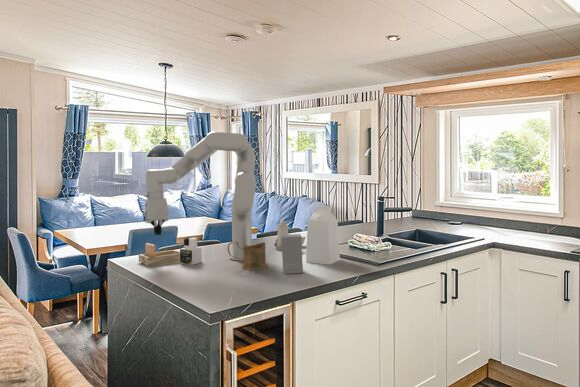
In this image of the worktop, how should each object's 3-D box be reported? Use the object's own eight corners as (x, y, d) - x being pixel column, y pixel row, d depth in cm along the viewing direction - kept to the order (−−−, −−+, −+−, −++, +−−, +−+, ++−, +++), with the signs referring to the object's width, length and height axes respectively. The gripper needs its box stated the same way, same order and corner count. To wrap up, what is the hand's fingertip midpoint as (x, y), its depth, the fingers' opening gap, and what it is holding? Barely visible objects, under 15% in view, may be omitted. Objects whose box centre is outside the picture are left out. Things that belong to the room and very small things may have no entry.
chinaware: (299, 256, 229) (302, 224, 228) (267, 253, 231) (270, 221, 230) (305, 247, 257) (308, 219, 256) (277, 244, 259) (279, 216, 258)
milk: (340, 259, 211) (339, 205, 210) (329, 264, 201) (328, 206, 200) (317, 257, 217) (316, 204, 216) (306, 262, 207) (305, 206, 206)
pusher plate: (155, 262, 206) (155, 245, 206) (153, 262, 205) (152, 245, 205) (148, 259, 213) (147, 243, 213) (145, 260, 212) (145, 243, 212)
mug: (225, 267, 199) (225, 240, 199) (263, 263, 205) (262, 237, 205) (231, 272, 188) (230, 243, 188) (271, 268, 194) (270, 241, 194)
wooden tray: (185, 261, 214) (185, 252, 213) (148, 266, 202) (148, 257, 202) (174, 257, 223) (174, 249, 223) (138, 262, 212) (138, 254, 211)
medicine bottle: (179, 263, 207) (179, 238, 207) (190, 261, 214) (189, 236, 213) (192, 265, 204) (191, 239, 204) (201, 262, 210) (201, 237, 210)
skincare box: (302, 270, 189) (301, 233, 189) (303, 274, 182) (302, 235, 181) (282, 270, 189) (281, 233, 188) (282, 274, 182) (281, 236, 181)
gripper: (142, 197, 202) (145, 237, 203) (173, 194, 211) (176, 233, 212) (136, 196, 208) (139, 235, 209) (167, 194, 217) (169, 231, 218)
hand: (158, 234), depth 211 cm, fingers closed
